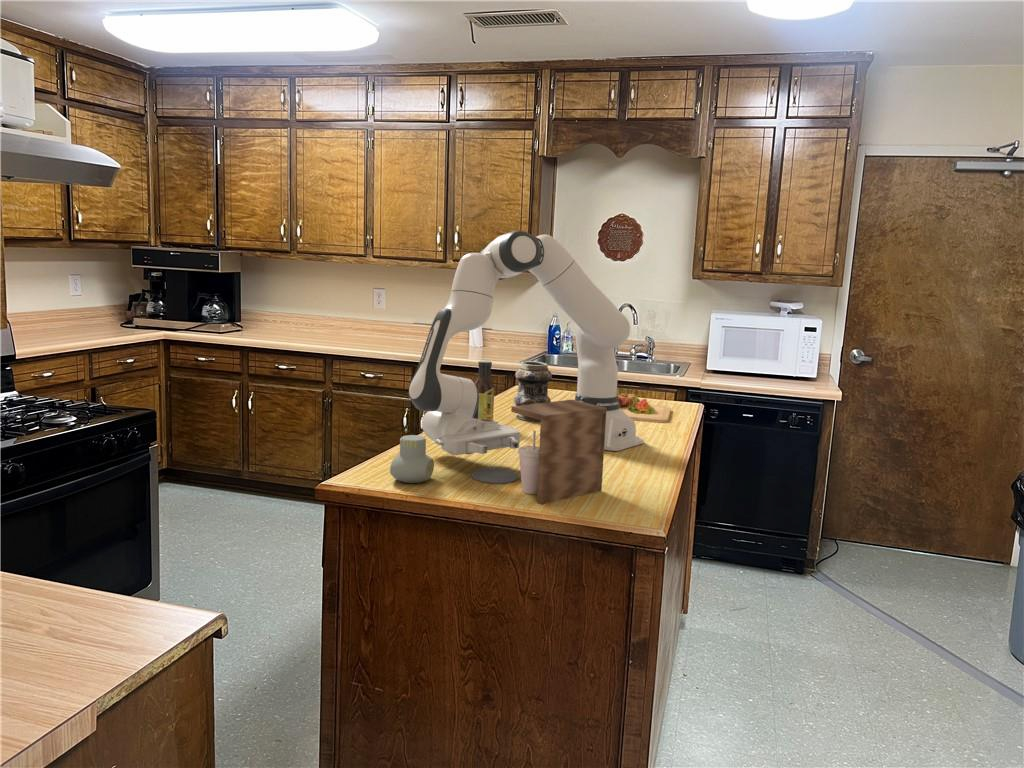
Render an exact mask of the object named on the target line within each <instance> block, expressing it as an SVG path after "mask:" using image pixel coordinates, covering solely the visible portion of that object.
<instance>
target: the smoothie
mask: <svg viewBox="0 0 1024 768" xmlns="http://www.w3.org/2000/svg"><path fill="white" fill-rule="evenodd" d="M536 432H537V431H536V430H532V445H524V446H519V448H517V454H518V455H519V456H518V457H519V466H520V469H519V470H520V480H521V491H522V493H524V494H528V495H533V494H534V495H535V494H537V489H538V468H539V447H540V446H538V445H537V446H536Z"/></svg>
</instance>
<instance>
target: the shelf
mask: <svg viewBox="0 0 1024 768" xmlns="http://www.w3.org/2000/svg"><path fill="white" fill-rule="evenodd" d="M510 408H511V411H510V412H511V413H514V414H517V415H518V414H521V415H524V416H527V417H531V418H534V419H538V420H541V421H540V425H539V426H540V429H539V446H538V447H539V468H538V489H537V493H536V503H537V504H538V505H543V504H547V503H552V502H557V501H560V500H561V501H562V500H565V499H570V498H575V497H580V496H584V495H589V494H594V493H598V492H602V489H603V487H602V486H603V474H604V473H603V471H604V469H603V468H604V457H605V455H604V454H605V450H604V442H605V426H606V410H607V408H605V407H601V406H597V405H593V404H589V403H585V402H580V401H576V400H573V399H567V400H557V401H551V402H546V403H537V404H528V405H520V406H516V405H512V406H511V407H510Z"/></svg>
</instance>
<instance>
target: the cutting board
mask: <svg viewBox="0 0 1024 768" xmlns="http://www.w3.org/2000/svg"><path fill="white" fill-rule="evenodd" d="M616 395H617V396H618V397H620V396H622V397H626V398H627V399H626V400H627V402H625V403H626V404H622V403H620V409H621V410H622V411H623V412H624V413H626V414H627V415H628V416H629V417H630V418H631V419H632V420H633V421H634V422H635V421H636V422H637V421H639V422H648V423H659V424H660V423H661V424H662V423H668V422H669V419H670V415H671V411H672V408H671V407H669V406H665V405H657V404H649V401H648V399H646V398H643V399H641V400H640V398H638V397H637V395H636V394H635V393H628V394H625V393H623V392H621V393H620V394H616ZM572 400H575V398H574V399H572Z"/></svg>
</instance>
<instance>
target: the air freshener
mask: <svg viewBox="0 0 1024 768" xmlns="http://www.w3.org/2000/svg"><path fill="white" fill-rule="evenodd" d="M426 448H427V439H426V437H425V436H424V435H423V436H422V435H417V434H410V435H408V434H407V435H404V436H401V437H400V439H399V454H397V455H395V456H394V457H393V459H392V461H391V464H390V469H389V472H390V476H392V477H393V478H394V479H396V480H397V481H399V482H402V483H407V484H419V483H418V482H421V483H425V482H426V481H428V480H429V479H431V477H432V476H433V472H434V469H435V461H434V459H433V458H432V457H431V456H429V455H428V454H427V453H426V451H427V449H426Z"/></svg>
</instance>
